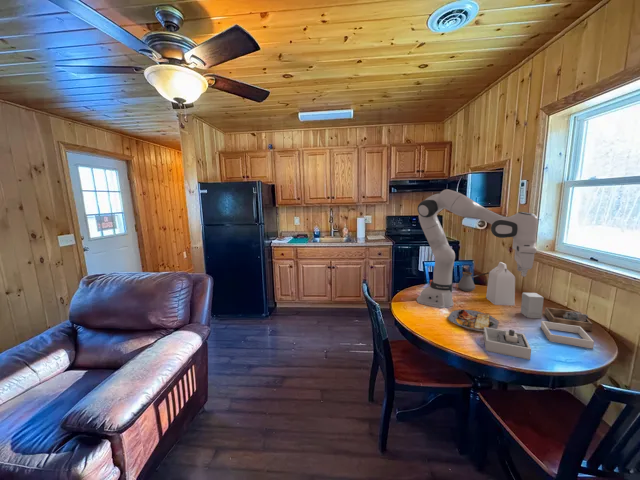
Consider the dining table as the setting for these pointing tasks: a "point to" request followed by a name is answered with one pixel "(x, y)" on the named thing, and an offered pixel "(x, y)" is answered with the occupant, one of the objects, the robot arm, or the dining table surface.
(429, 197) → the robot arm
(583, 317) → the mineral specimen
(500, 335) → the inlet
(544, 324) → the open square frame
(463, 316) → the food plate
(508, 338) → the connector
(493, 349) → the walled box
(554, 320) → the stand rim
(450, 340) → the dining table surface
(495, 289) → the milk
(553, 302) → the dining table surface
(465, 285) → the coffee pot
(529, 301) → the supplement box
